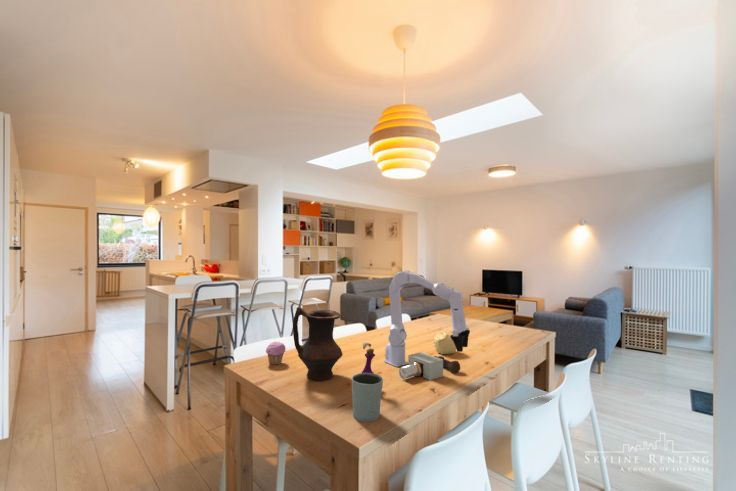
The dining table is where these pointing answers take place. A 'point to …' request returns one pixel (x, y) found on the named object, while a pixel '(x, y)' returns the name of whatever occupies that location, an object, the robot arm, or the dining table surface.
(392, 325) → the robot arm
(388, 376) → the dining table surface
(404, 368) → the silver copper cylinder
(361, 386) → the grey-green cup
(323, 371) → the jug
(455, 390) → the dining table surface
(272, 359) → the cupcake
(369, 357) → the perfume bottle
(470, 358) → the dining table surface
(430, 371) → the block
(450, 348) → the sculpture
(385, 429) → the dining table surface
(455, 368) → the bolt
